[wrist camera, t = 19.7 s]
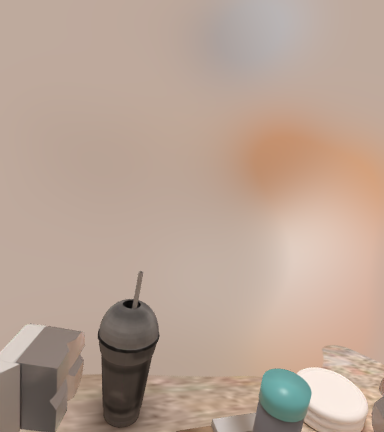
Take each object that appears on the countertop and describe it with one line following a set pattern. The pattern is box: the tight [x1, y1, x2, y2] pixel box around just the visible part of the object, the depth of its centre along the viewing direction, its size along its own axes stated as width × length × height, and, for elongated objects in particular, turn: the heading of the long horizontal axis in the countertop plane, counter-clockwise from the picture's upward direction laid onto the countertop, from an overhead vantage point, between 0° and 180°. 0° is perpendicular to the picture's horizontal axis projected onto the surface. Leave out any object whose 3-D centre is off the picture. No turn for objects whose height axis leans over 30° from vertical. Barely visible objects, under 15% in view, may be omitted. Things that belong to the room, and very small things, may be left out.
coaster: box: [297, 367, 368, 432], centre depth 49 cm, size 10×10×4 cm
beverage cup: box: [98, 271, 159, 427], centre depth 42 cm, size 7×7×20 cm
